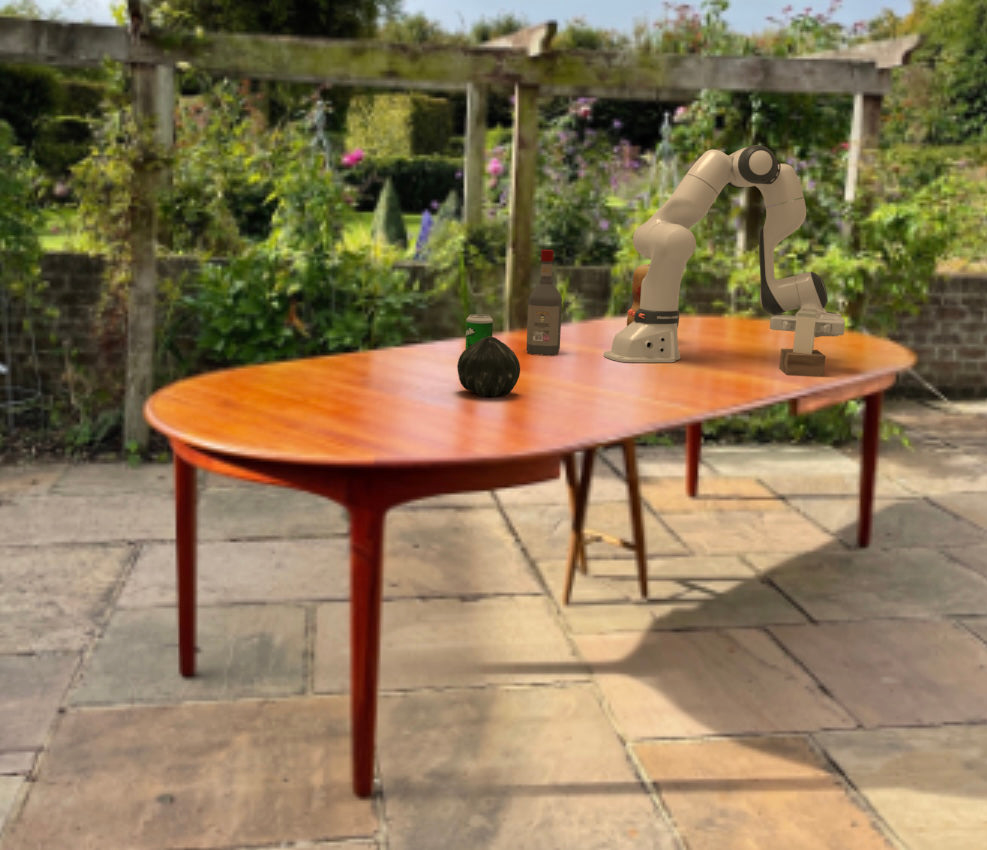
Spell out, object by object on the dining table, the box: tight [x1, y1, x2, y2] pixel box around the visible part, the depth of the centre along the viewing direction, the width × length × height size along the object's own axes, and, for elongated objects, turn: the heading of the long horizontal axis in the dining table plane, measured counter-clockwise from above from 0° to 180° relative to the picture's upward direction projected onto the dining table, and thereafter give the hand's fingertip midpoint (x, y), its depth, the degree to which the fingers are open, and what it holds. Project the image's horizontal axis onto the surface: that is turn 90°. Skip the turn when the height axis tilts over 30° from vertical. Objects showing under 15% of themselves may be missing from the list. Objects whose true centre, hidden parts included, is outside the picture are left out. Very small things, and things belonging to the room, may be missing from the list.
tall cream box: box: [792, 310, 817, 354], centre depth 301 cm, size 5×5×11 cm
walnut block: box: [778, 348, 826, 378], centre depth 303 cm, size 10×10×6 cm
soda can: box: [465, 313, 494, 350], centre depth 309 cm, size 8×8×12 cm
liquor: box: [525, 249, 563, 356], centre depth 319 cm, size 9×9×30 cm
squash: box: [457, 336, 521, 398], centre depth 260 cm, size 14×15×15 cm
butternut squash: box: [626, 263, 650, 327], centre depth 346 cm, size 14×13×25 cm
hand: (805, 328), depth 300 cm, fingers open, 8 cm apart
